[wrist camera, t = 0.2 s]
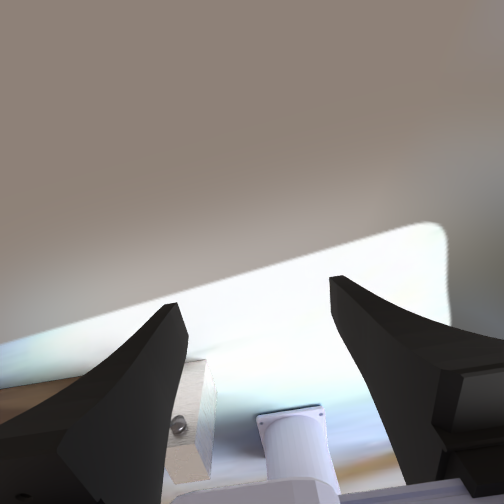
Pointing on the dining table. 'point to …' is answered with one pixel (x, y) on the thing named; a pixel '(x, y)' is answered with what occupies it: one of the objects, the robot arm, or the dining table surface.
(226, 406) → the dining table surface
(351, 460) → the dining table surface
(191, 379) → the grey block with knob
